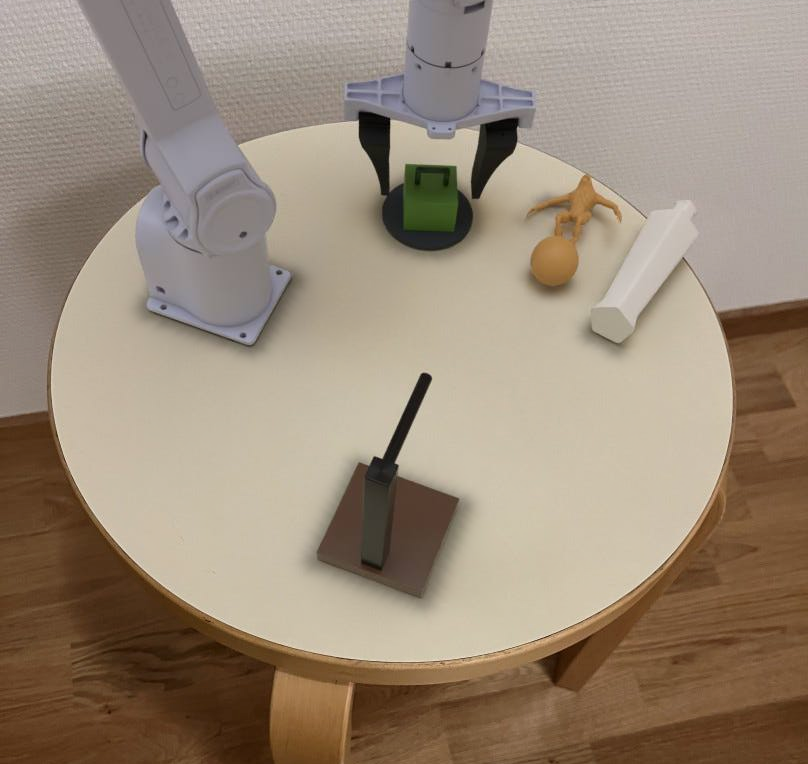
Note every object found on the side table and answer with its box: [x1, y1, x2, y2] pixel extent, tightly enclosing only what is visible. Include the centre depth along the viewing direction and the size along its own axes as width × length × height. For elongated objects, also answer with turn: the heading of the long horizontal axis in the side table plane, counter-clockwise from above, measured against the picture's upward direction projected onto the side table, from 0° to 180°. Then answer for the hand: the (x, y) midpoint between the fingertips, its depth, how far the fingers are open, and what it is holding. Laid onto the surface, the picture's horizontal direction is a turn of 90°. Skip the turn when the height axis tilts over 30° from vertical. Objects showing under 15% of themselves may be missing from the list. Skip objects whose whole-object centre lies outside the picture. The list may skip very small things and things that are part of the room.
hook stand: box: [316, 372, 460, 598], centre depth 60 cm, size 8×9×14 cm
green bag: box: [403, 163, 459, 232], centre depth 77 cm, size 4×4×5 cm
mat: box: [381, 182, 474, 252], centre depth 79 cm, size 8×8×1 cm
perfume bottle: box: [590, 199, 700, 344], centre depth 76 cm, size 5×4×15 cm
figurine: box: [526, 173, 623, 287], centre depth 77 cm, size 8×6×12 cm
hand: (430, 188), depth 76 cm, fingers open, 7 cm apart
